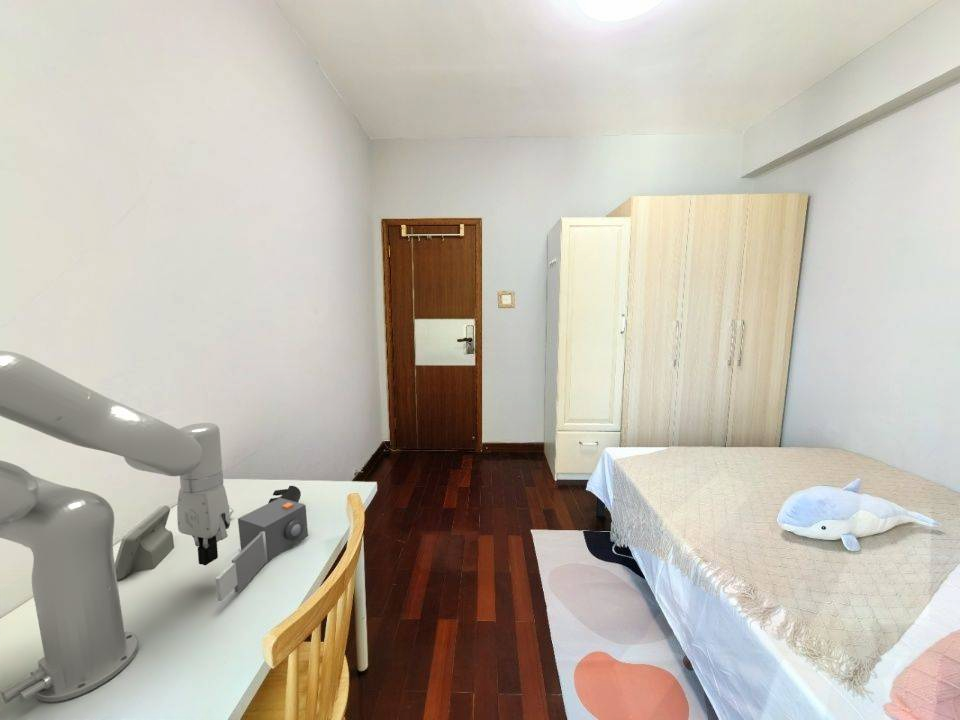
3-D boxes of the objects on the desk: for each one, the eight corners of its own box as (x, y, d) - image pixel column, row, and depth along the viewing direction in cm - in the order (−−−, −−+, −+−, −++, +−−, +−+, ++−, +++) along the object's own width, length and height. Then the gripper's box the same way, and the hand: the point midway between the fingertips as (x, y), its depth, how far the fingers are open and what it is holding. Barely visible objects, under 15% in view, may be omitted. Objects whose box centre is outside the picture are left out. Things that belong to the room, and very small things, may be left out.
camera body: (271, 563, 95) (268, 525, 94) (241, 551, 100) (237, 515, 98) (311, 537, 106) (309, 502, 104) (282, 527, 110) (279, 494, 109)
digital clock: (155, 541, 105) (150, 504, 104) (189, 540, 105) (184, 503, 104) (97, 583, 89) (90, 539, 88) (136, 582, 89) (130, 539, 88)
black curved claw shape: (296, 520, 114) (294, 498, 114) (269, 524, 113) (267, 502, 112) (301, 504, 124) (300, 484, 123) (277, 507, 122) (275, 487, 121)
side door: (268, 560, 95) (265, 531, 94) (223, 610, 79) (219, 576, 78) (263, 560, 95) (261, 531, 94) (217, 610, 79) (214, 576, 78)
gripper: (158, 484, 83) (166, 565, 85) (212, 492, 79) (218, 578, 81) (193, 471, 90) (199, 546, 92) (244, 478, 86) (249, 557, 88)
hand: (208, 561), depth 86 cm, fingers closed
